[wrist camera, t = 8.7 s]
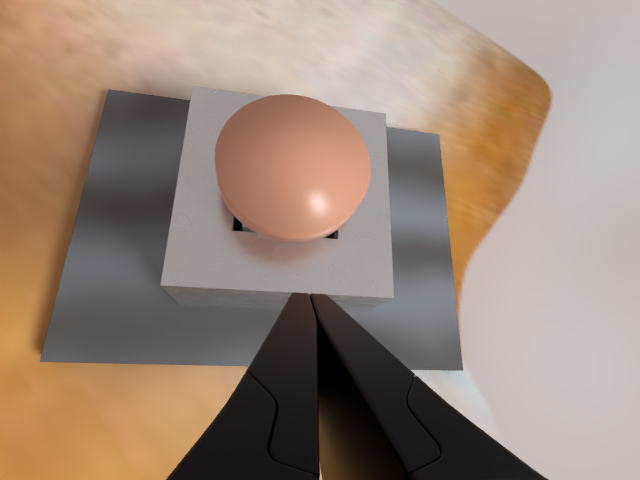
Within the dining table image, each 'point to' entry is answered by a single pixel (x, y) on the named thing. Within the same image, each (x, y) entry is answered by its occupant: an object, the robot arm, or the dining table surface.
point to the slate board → (155, 217)
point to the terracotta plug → (291, 168)
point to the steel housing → (261, 252)
